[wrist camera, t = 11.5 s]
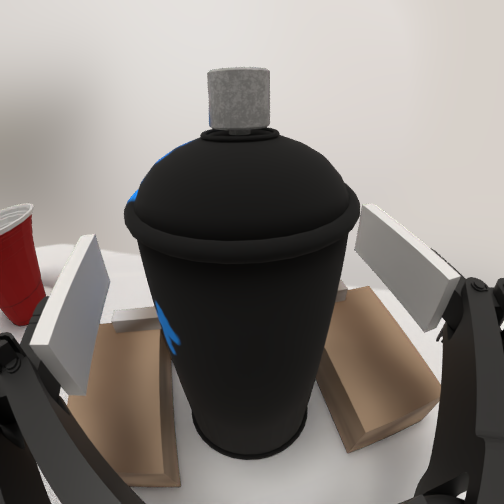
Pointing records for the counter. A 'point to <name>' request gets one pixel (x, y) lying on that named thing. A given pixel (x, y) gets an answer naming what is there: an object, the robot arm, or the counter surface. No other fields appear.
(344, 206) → the aerosol can
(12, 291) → the plastic cup
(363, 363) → the cutout stand
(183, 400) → the counter surface
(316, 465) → the counter surface
